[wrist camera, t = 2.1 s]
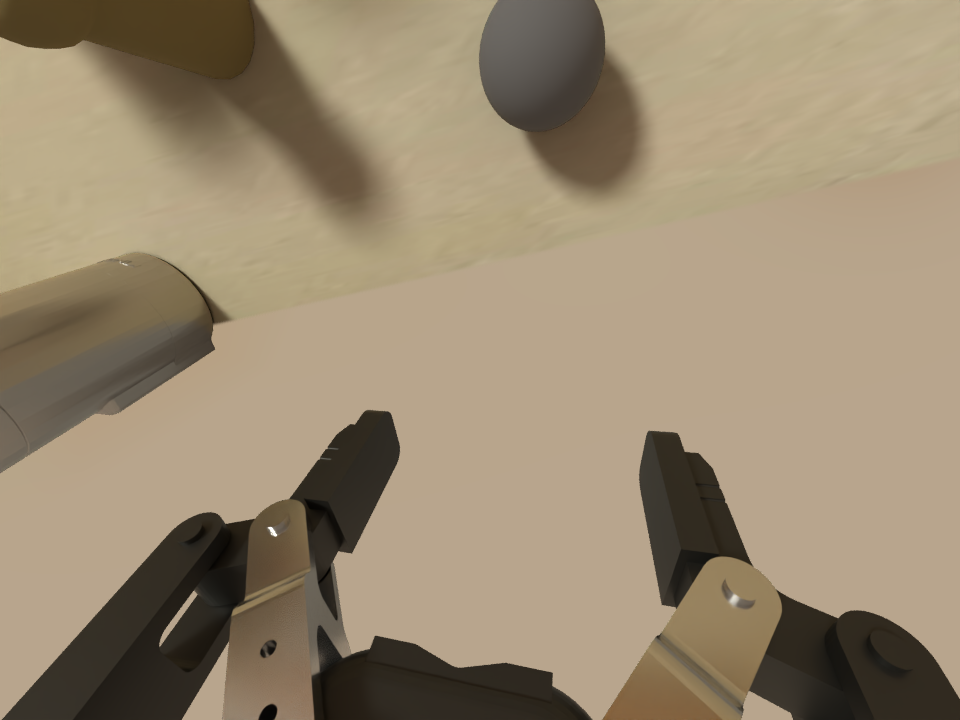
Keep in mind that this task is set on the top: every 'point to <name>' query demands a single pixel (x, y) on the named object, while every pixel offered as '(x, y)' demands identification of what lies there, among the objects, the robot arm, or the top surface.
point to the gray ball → (541, 60)
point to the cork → (141, 29)
